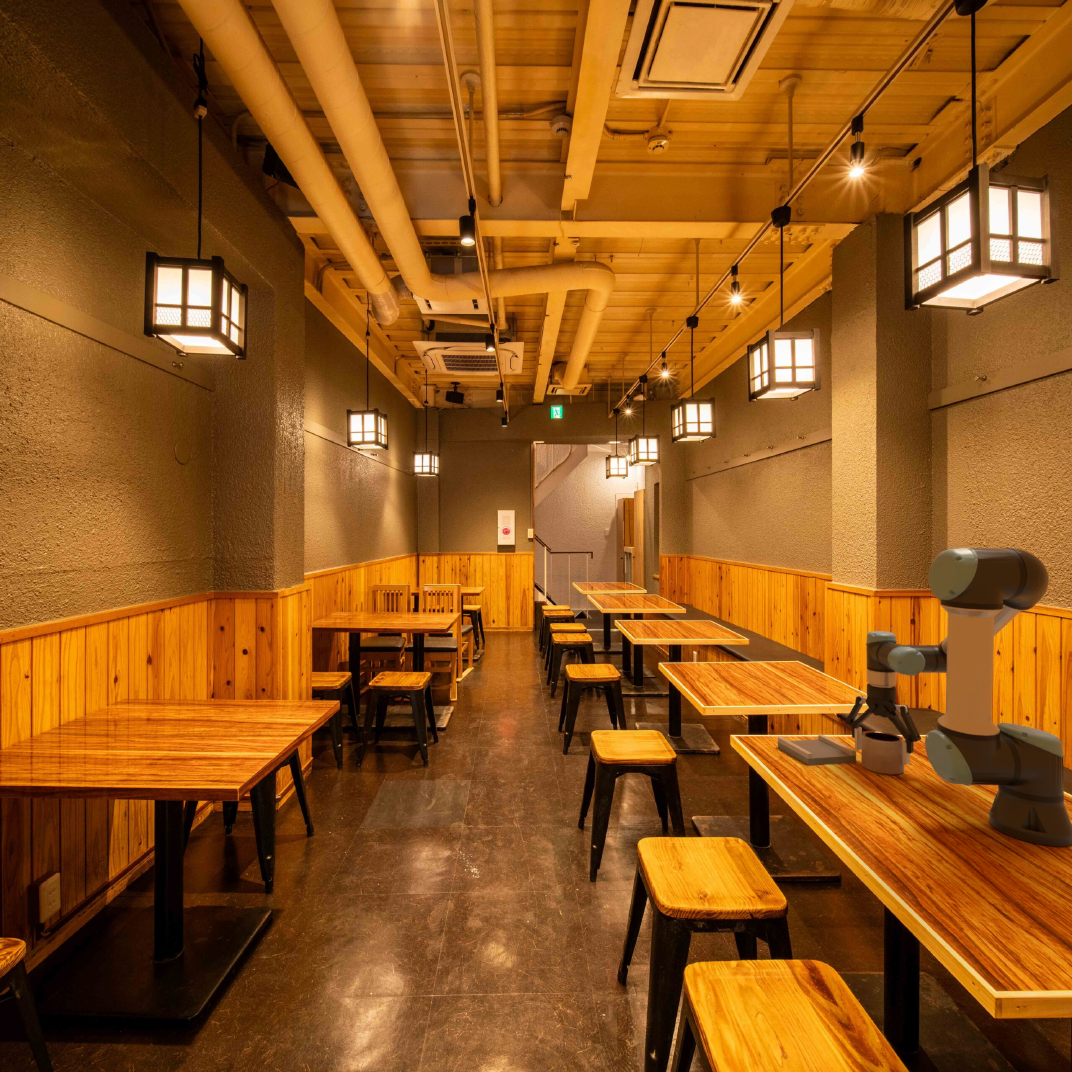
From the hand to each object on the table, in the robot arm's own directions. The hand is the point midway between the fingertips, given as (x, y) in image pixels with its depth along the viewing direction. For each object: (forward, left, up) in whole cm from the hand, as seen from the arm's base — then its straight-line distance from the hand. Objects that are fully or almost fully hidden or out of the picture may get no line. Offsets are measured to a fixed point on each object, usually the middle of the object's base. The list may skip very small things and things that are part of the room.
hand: (881, 756), depth 175 cm
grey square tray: (+14, +12, -3) cm, 19 cm away
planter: (0, 0, -4) cm, 4 cm away
